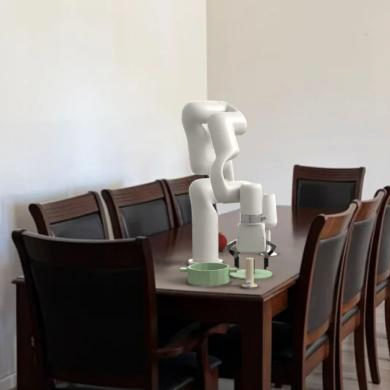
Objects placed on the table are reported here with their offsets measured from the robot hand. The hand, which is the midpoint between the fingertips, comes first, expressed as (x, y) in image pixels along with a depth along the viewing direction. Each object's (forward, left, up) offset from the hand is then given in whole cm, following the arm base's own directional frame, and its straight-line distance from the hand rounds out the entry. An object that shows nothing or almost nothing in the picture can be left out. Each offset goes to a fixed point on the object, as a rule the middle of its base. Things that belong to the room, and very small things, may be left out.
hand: (251, 268), depth 268 cm
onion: (-47, -17, -3) cm, 50 cm away
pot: (+10, -13, -3) cm, 17 cm away
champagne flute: (-42, +3, -3) cm, 42 cm away
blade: (+16, +1, -3) cm, 16 cm away
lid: (0, 0, -2) cm, 2 cm away
